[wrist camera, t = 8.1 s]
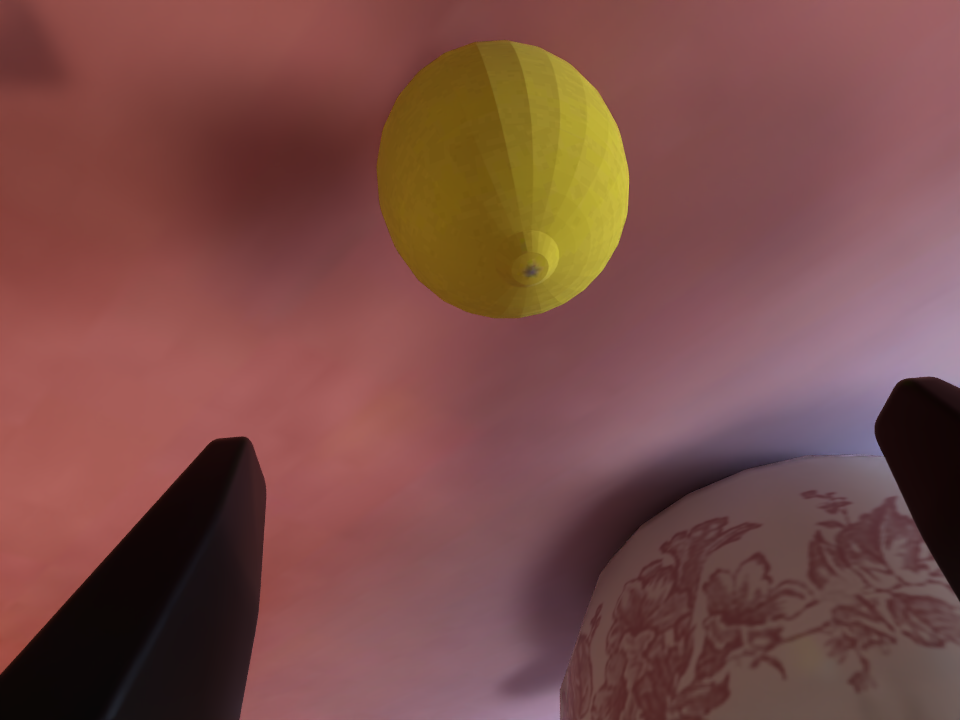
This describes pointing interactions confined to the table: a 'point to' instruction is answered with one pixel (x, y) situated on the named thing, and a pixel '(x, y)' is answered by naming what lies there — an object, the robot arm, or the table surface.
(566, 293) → the lemon
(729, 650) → the chamber pot
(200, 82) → the table surface
